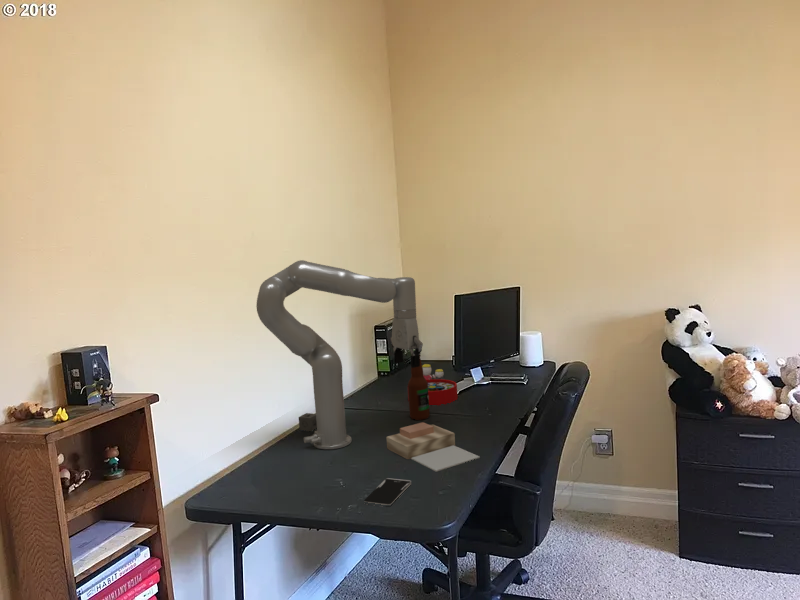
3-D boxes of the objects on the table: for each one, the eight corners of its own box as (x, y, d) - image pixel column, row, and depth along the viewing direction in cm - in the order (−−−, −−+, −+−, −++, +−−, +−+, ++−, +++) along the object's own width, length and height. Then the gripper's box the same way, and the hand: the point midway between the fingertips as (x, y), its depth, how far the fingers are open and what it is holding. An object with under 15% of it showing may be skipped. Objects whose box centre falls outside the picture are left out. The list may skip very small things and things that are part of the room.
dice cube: (299, 430, 224) (298, 417, 224) (307, 426, 229) (306, 413, 228) (311, 431, 222) (310, 418, 221) (319, 427, 226) (317, 414, 226)
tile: (410, 439, 195) (409, 432, 195) (400, 434, 201) (399, 428, 200) (433, 432, 200) (433, 426, 200) (423, 428, 205) (422, 422, 205)
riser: (407, 459, 189) (406, 446, 189) (387, 448, 200) (386, 436, 199) (455, 445, 199) (454, 433, 198) (433, 436, 209) (432, 424, 208)
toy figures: (446, 381, 280) (445, 363, 279) (443, 384, 276) (442, 365, 275) (421, 380, 284) (420, 362, 283) (418, 383, 280) (417, 365, 279)
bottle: (426, 421, 225) (422, 352, 222) (407, 420, 228) (403, 352, 225) (432, 414, 232) (428, 348, 229) (413, 414, 235) (409, 348, 232)
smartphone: (362, 501, 161) (386, 477, 174) (363, 506, 161) (387, 482, 175) (390, 504, 158) (412, 480, 171) (390, 509, 158) (412, 485, 172)
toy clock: (401, 391, 246) (414, 379, 265) (402, 406, 247) (415, 392, 266) (451, 392, 241) (460, 379, 260) (452, 406, 242) (461, 392, 261)
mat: (436, 471, 178) (436, 470, 178) (411, 459, 189) (411, 457, 189) (479, 457, 187) (479, 456, 187) (453, 446, 198) (453, 445, 198)
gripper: (381, 313, 214) (383, 362, 216) (410, 318, 200) (412, 370, 202) (399, 311, 218) (401, 359, 220) (429, 315, 204) (431, 367, 206)
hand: (407, 364), depth 211 cm, fingers open, 9 cm apart
